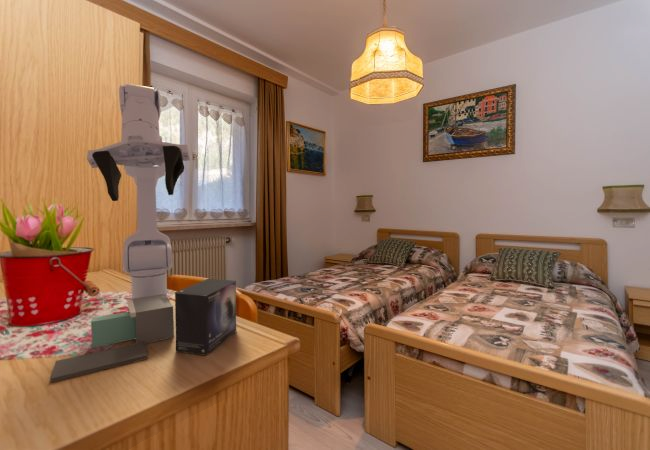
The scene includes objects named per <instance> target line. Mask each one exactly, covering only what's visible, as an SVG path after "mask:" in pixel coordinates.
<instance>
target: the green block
mask: <svg viewBox="0 0 650 450" xmlns="http://www.w3.org/2000/svg"><path fill="white" fill-rule="evenodd" d="M90 324H91V325H90V326H91V343H92V348H93V349H94V348H98V347H102V346H108V345H113V344H116V343H121V342H126V341H129V340H136V330H135V317H130V312H129V311H125V312H117V313H111V314H105V315H100V316H95V317H91V320H90Z"/></svg>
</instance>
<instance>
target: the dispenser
mask: <svg viewBox="0 0 650 450" xmlns="http://www.w3.org/2000/svg"><path fill="white" fill-rule="evenodd" d="M126 300H127V307H128V312H130V317H135V330H136V339H135V343H139V342H143V341H144V344H145V345H146V344H150V343H154V342H159V341H163V340H169V339H171V338H174V337H175V328H174V327H175V324H174V305H173V303H172V302H171V301H170V299H169V297H168V295H167V296H166V294H161V295H154V296H148V297H141V298H134V299H132V297H131V298H127V299H126Z"/></svg>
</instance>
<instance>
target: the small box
mask: <svg viewBox="0 0 650 450" xmlns="http://www.w3.org/2000/svg"><path fill="white" fill-rule="evenodd" d="M236 291H237V280H230V279H220V278H210V277H209V278H207V279H204V280H202V281H199V282H197V283H195V284H192V285H190V286H187V287H184V288H183V289H180V290H177V291H175V292H174V302H175V305H174V307H175V308H174V312H175V314H174V315H175V316H174V317H175V352H177V353H178V352H179V353H185V354H187V353H188V354H192V355H193V354H195V355H203V356H207V355H209V354H210V353H211V352H212V351H214V350H215V349H216V348H217V347H219V346H220V345H221V344H222V343H223V342H225V341H226V340H227V339H229V338H230V336H232V335H233V334H234V333H236V332H237V296H236V295H237V292H236ZM235 331H236V332H235Z"/></svg>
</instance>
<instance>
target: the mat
mask: <svg viewBox="0 0 650 450" xmlns="http://www.w3.org/2000/svg"><path fill="white" fill-rule="evenodd" d="M146 359H148V353H147V349H146V344H144V341H143V342H139V343H137V342H135V343H130V344H125V345H120V346H117V347H112V348H109V349H108V348H107V349H103V350H99V351H94V352H90V353H86V354H85V353H84V354H80V355H76V356H72V357H68V358H62V359H58V360H55V362H54V365H53V369H52V372H51V376H50V379H49V380H50V382H49V383H55V382H56V383H57V382H58V381H59V382H60V381H62V380H67V379H71V378H74V377H79V376H84V375H88V374H90V373H94V372H99V371H103V370H107V369H112V368H116V367H118V366H122V365H127V364H130V363H134V362H138V361H143V360H146Z"/></svg>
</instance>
